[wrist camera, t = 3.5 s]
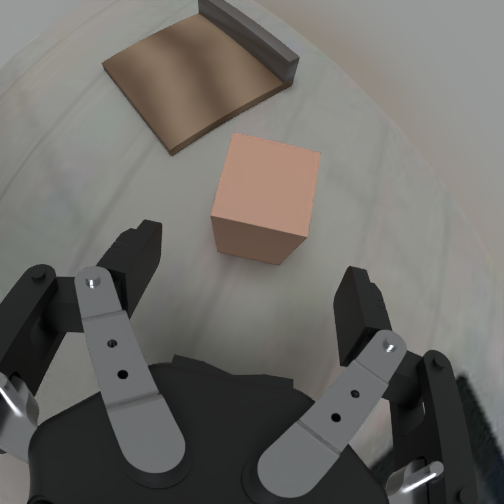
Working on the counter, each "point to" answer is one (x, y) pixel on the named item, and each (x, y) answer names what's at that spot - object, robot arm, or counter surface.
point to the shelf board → (201, 72)
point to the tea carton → (264, 199)
